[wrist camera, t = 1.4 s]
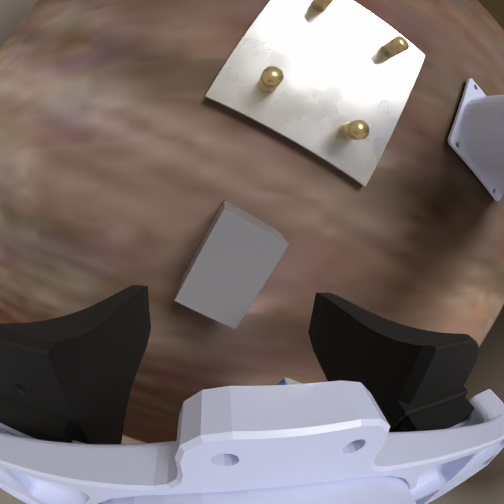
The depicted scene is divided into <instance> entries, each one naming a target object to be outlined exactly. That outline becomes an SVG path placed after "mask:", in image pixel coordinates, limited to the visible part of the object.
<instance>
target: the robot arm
mask: <svg viewBox="0 0 504 504" xmlns="http://www.w3.org/2000/svg"><path fill="white" fill-rule="evenodd" d="M448 143H449V145H450V146H451V147H452V149H453V150H454V151H455V152H456V153H457V154H458V155H459V156H460V157H461V159H462V160H463V161H464V162H465V163H466V164H467V165H468V167H469V168H470V169H471V170H472V171H473V173H474V174H475V175H476V176H477V178H478V179H479V180H480V181H481V183H482V184H483V185H484V187H485V188H486V189H487V191H488V192H489V193H490V195H491V196H492V197H493V199H494V200H495V201H499V200H500V198H501V195H502V194H504V95H495V96H486V95H485V94H484V93H483V91H482V90H481V89H480V88H479V86H478V85H477V84H476V83H475V82H474V80H473V79H471V78H470V79H467V82H466V85H465V89H464V92H463V95H462V99H461V102H460V105H459V108H458V111H457V114H456V117H455V120H454V123H453V125H452V128H451V131H450V134H449V136H448ZM456 145H457V146H456ZM150 329H151V324H150V313H149V301H148V286H139V285H133V286H130V287H128V288H126V289H124V290H122V291H120V292H118V293H116V294H115V295H113V296H111V297H109V298H107V299H105V300H103V301H101V302H99V303H97V304H95V305H93V306H91V307H88V308H86V309H84V310H81V311H78V312H75V313H73V314H69V315H66V316H62V317H58V318H54V319H50V320H45V321H39V322H31V323H13V324H0V488H1V489H3V490H4V491H6V492H8V493H9V494H11V495H13V496H14V497H16V498H18V499H19V500H21V501H23V502H25V503H27V504H428V503H429V502H431V501H433V500H435V499H436V498H438V497H440V496H441V495H443V494H445V493H446V492H448V491H449V490H451V489H453V488H454V487H456V486H457V485H459V484H460V483H462V482H463V481H465V480H466V479H468V478H469V477H471V476H472V475H474V474H475V473H477V472H478V471H480V470H481V469H482V468H484V467H485V466H486V465H487V464H488V463H490V461H491V460H492V459H493V458H494V457H495V456H496V455H497V454H498V453H499V451H501V449H502V448H503V447H504V403H503V402H502V401H501V400H500V399H499V398H498V397H497V396H496V395H495V394H494V393H493V392H492V391H491V390H490V389H488V390H486V391H484V392H482V393H480V394H477V395H475V396H474V397H472V399H470V400H469V401H468V400H467V399H466V397H465V395H466V394H467V393H468V392H467V389H465V387H464V384H465V382H466V380H467V378H468V377H469V374H470V373H471V371H472V369H473V367H474V365H475V363H476V360H477V357H478V344H477V342H476V341H475V340H474V339H473V338H472V337H470V336H469V335H467V334H451V333H439V332H432V331H426V330H421V329H416V328H412V327H408V326H405V325H401V324H398V323H395V322H393V321H390V320H387V319H384V318H382V317H380V316H377V315H375V314H373V313H371V312H369V311H366V310H364V309H362V308H360V307H358V306H356V305H355V304H353V303H351V302H349V301H347V300H345V299H343V298H341V297H339V296H337V295H334V294H331V293H316V296H315V302H314V307H313V312H312V317H311V322H310V327H309V336H310V340H311V344H312V347H313V350H314V352H315V354H316V357H317V359H318V361H319V363H320V365H321V367H322V369H323V371H324V374H325V376H326V378H327V380H328V382H320V383H308V384H293V385H270V386H225V387H219V388H212V389H205V390H201V391H200V392H198V393H197V394H195V395H193V396H192V397H190V398H189V399H187V400H185V401H184V403H183V406H182V409H181V412H180V415H179V422H178V431H177V441H171V442H160V443H145V444H121V440H122V432H123V425H124V419H125V413H126V408H127V403H128V398H129V394H130V390H131V386H132V383H133V381H134V378H135V375H136V373H137V370H138V367H139V365H140V362H141V360H142V357H143V354H144V352H145V349H146V346H147V343H148V339H149V334H150Z"/></svg>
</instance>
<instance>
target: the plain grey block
mask: <svg viewBox="0 0 504 504" xmlns="http://www.w3.org/2000/svg"><path fill="white" fill-rule="evenodd" d="M288 246H289V244H288V243H287V241H286V240H285V239H284V238H283V236H282V235H281V234H280V233H279V231H278V230H276V229H275V228H273V227H271V226H269V225H268V224H266V223H264V222H262V221H261V220H259V219H257V218H255V217H253V216H252V215H250V214H248V213H246V212H244V211H243V210H241V209H239V208H237V207H235V206H234V205H232V204H230V203H228V202H226V201H225V200H224V202H223V204H222V205H221V207H220V209H219V211H218V212H217V214H216V216H215V218H214V220H213V221H212V223H211V225H210V227H209V229H208V230H207V232H206V234H205V236H204V238H203V240H202V241H201V243H200V245H199V247H198V249H197V251H196V253H195V254H194V256H193V258H192V260H191V262H190V264H189V266H188V268H187V269H186V271H185V273H184V275H183V277H182V280H181V283H180V286H179V289H178V292H177V295H176V298H175V301H176V302H178V303H180V304H182V305H184V306H186V307H188V308H190V309H192V310H194V311H197V312H199V313H201V314H203V315H205V316H207V317H209V318H211V319H214V320H216V321H218V322H220V323H222V324H225V325H227V326H229V327H231V328H234V329H236V327H237V326H238V324H239V323H240V321H241V320H242V318H243V317H244V315H245V313H246V312H247V310H248V309H249V307H250V306H251V304H252V303H253V301H254V299H255V298H256V296H257V295H258V293H259V292H260V290H261V289H262V287H263V285H264V284H265V282H266V281H267V279H268V278H269V276H270V274H271V273H272V271H273V270H274V268H275V266H276V265H277V263H278V262H279V260H280V258H281V257H282V255H283V254H284V252H285V250H286V249H287V247H288Z"/></svg>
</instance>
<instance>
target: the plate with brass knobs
mask: <svg viewBox="0 0 504 504" xmlns="http://www.w3.org/2000/svg"><path fill="white" fill-rule="evenodd" d="M424 58H425V55H424V54H423V53H422V52H421V51H420V50H419V49H417V48H416V47H415V46H414V45H413V44H412V43H410V42H409V41H408V40H407V39H406V38H404V37H403V36H402V35H401V34H399V33H398V32H397V31H396V30H394V29H393V28H392V27H390V26H389V25H388V24H386V23H385V22H384V21H382V20H381V19H380V18H378V17H377V16H375V15H374V14H372V13H371V12H370V11H368V10H367V9H365V8H364V7H362V6H360V5H359V4H357V3H356V2H354V1H353V0H270V2H269V3H268V4H267V5H266V7H265V8H264V9H263V11H262V12H261V13H260V15H259V16H258V17H257V19H256V20H255V21H254V23H253V24H252V25H251V27H250V28H249V29H248V31H247V32H246V34H245V35H244V37H243V38H242V39H241V41H240V42H239V44H238V45H237V47H236V48H235V50H234V51H233V53H232V54H231V56H230V57H229V59H228V60H227V62H226V63H225V65H224V66H223V68H222V70H221V71H220V73H219V74H218V76H217V78H216V79H215V81H214V82H213V84H212V86H211V87H210V89H209V91H208V93H207V94H206V98H207V99H209V100H212V101H214V102H216V103H218V104H220V105H222V106H225V107H227V108H229V109H231V110H233V111H235V112H237V113H239V114H241V115H243V116H245V117H247V118H249V119H251V120H253V121H255V122H257V123H259V124H261V125H263V126H265V127H267V128H268V129H270V130H272V131H274V132H276V133H278V134H279V135H281V136H283V137H285V138H287V139H288V140H290V141H292V142H294V143H295V144H297V145H299V146H301V147H302V148H304V149H306V150H307V151H309V152H311V153H312V154H314V155H316V156H317V157H319V158H321V159H322V160H324V161H325V162H327V163H329V164H330V165H332V166H333V167H335V168H336V169H338V170H340V171H341V172H343V173H344V174H346V175H347V176H349V177H350V178H352V179H353V180H355V181H356V182H358V183H359V184H361V185H362V186H366V185H367V183H368V181H369V179H370V177H371V175H372V173H373V171H374V169H375V167H376V165H377V163H378V161H379V159H380V157H381V155H382V153H383V151H384V149H385V147H386V145H387V143H388V141H389V139H390V137H391V134H392V132H393V130H394V128H395V126H396V124H397V122H398V119H399V117H400V115H401V113H402V110H403V108H404V106H405V104H406V101H407V99H408V97H409V94H410V92H411V90H412V87H413V85H414V83H415V80H416V78H417V75H418V73H419V70H420V68H421V65H422V63H423V60H424Z"/></svg>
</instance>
